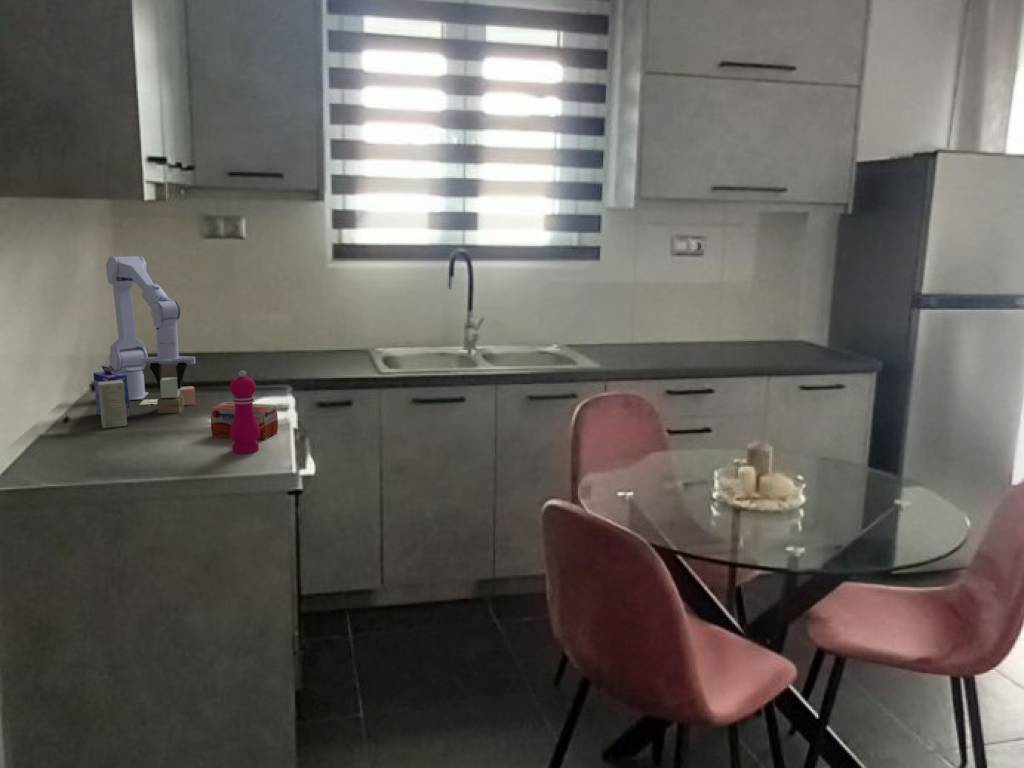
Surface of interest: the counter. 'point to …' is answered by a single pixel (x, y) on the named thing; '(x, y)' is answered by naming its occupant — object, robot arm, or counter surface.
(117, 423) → the skincare box
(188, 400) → the clay block
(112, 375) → the ink cartridge box
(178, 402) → the base block
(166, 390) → the sage block
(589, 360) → the counter surface
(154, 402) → the tile
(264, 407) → the medicine box
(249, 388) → the pepper mill
